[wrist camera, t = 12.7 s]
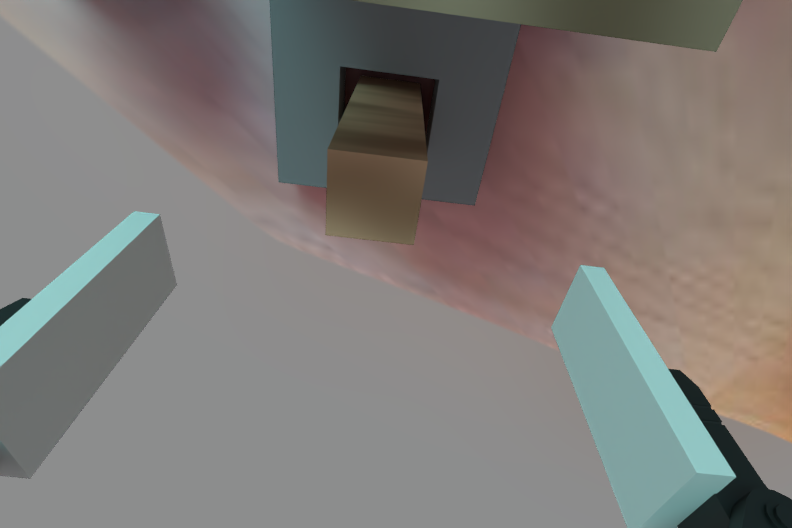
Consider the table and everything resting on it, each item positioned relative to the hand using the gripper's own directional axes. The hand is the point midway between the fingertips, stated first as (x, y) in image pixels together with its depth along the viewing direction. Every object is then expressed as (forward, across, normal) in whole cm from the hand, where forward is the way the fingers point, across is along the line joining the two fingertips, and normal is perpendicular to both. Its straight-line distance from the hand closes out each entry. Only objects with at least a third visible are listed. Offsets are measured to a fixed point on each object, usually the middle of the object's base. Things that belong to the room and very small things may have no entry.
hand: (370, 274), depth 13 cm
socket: (+19, 0, -2) cm, 19 cm away
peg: (+19, 0, 0) cm, 19 cm away
